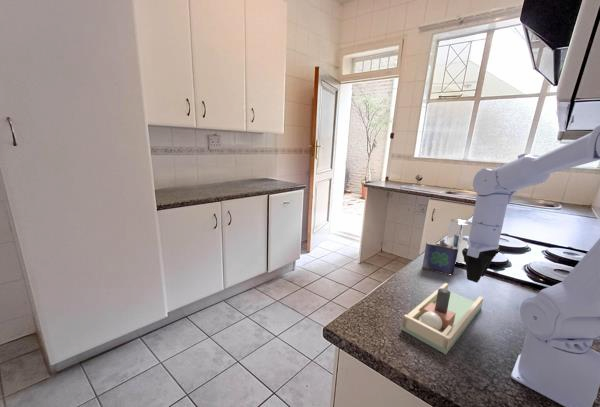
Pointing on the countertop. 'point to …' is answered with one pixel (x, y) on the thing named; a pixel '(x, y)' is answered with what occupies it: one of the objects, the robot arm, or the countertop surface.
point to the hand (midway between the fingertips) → (475, 277)
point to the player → (442, 308)
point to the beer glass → (458, 236)
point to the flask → (440, 257)
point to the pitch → (441, 338)
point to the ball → (432, 320)
